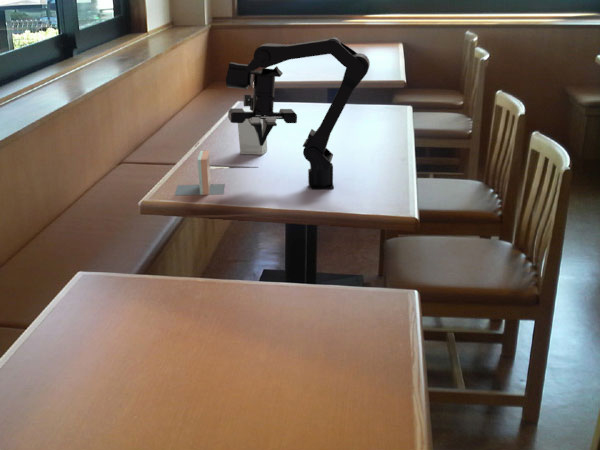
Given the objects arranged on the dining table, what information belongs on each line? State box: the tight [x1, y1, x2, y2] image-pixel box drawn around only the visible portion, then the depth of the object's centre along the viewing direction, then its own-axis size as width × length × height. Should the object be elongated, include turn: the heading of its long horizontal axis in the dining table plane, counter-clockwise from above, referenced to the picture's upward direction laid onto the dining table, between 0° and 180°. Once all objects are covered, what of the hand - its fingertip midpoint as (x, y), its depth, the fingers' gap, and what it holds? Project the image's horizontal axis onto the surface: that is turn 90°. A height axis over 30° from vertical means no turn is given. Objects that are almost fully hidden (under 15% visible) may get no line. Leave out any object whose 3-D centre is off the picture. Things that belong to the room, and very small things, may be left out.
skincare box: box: [237, 107, 268, 156], centre depth 223 cm, size 8×6×15 cm
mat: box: [174, 183, 226, 196], centre depth 188 cm, size 14×9×1 cm, turn 93°
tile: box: [197, 150, 212, 196], centre depth 186 cm, size 2×9×10 cm, turn 3°
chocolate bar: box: [210, 164, 259, 170], centre depth 206 cm, size 9×1×18 cm
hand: (261, 145), depth 191 cm, fingers closed
